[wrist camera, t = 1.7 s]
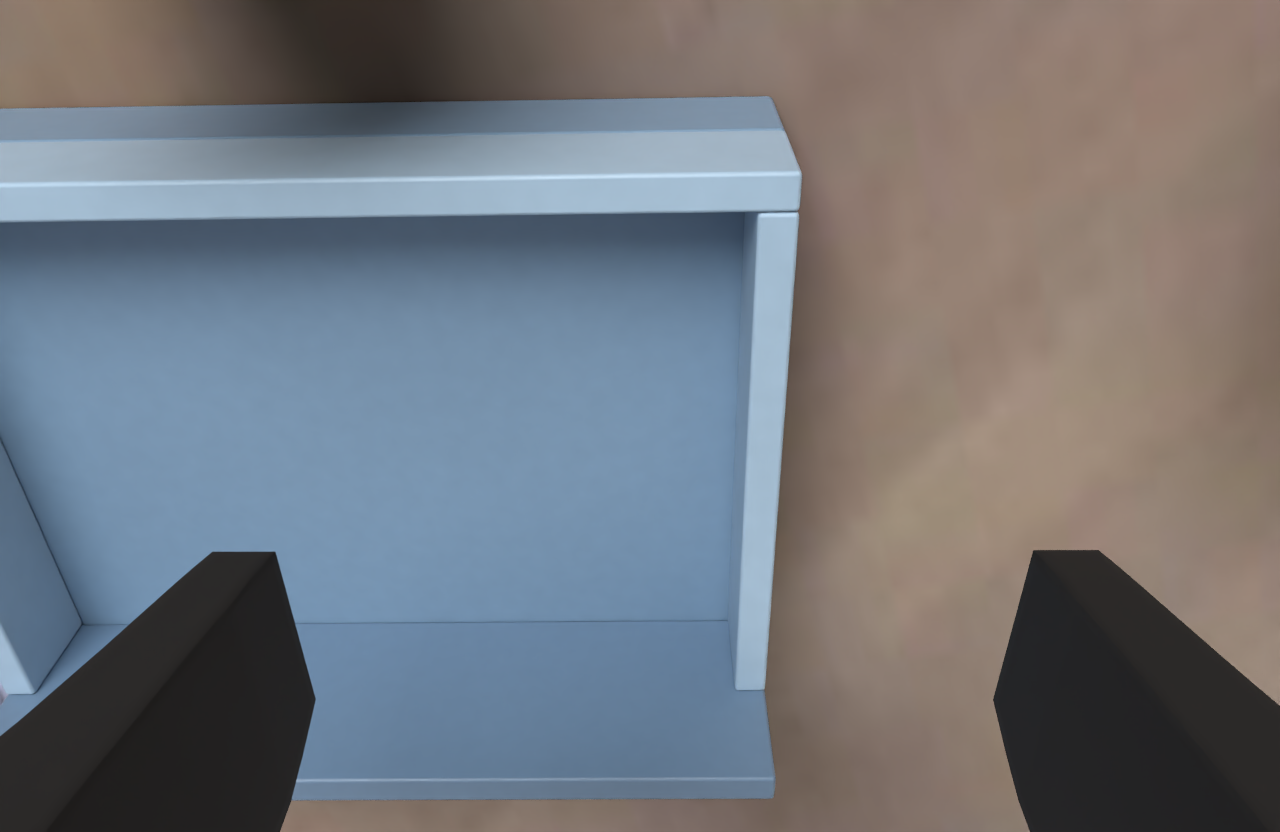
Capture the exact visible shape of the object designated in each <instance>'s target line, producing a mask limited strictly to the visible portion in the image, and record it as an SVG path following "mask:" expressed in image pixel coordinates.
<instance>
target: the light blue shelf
mask: <svg viewBox="0 0 1280 832" xmlns="http://www.w3.org/2000/svg"><path fill="white" fill-rule="evenodd" d="M801 186H802V173H801V170H800V168H799V165H798V162H797V160H796V157H795V155H794V152H793V150H792V147H791V144H790V142H789V139H788V137H787V134H786V132H785V131H784V128H783V125H782V123H781V120H780V117H779V115H778V112H777V110H776V107H775V105H774V102H773V99H772V98H771V97H768V96H760V97H698V98H637V99H575V100H513V101H451V102H389V103H327V104H265V105H203V106H141V107H80V108H18V109H0V683H1V685H2V687H3V689H4V691H5V693H7V694H8V696H7V697H6V699H5V700H4V701H3V703H2V704H1V706H0V736H1V735H2V734H3V733H5V732H6V731H7V730H8V729H9V728H11V727H12V726H13V725H14V724H16V723H17V722H18V721H19V720H20V719H22V718H23V717H24V716H25V715H26V714H28V713H29V712H30V711H31V710H32V709H33V708H34V707H36V706H37V705H38V704H39V703H40V702H41V701H43V700H44V699H45V698H46V697H47V696H48V695H49V694H51V693H52V692H53V691H54V690H55V689H56V688H57V687H59V686H60V685H61V684H62V683H63V682H64V681H65V680H67V679H68V678H69V677H70V676H71V675H72V674H74V673H75V672H76V671H77V670H78V669H79V668H80V667H82V666H83V665H84V664H85V663H86V662H87V661H88V660H90V659H91V658H92V657H93V656H94V655H95V654H96V653H98V652H99V651H100V650H101V649H102V648H103V647H104V646H106V645H107V644H108V643H109V642H110V641H111V640H112V639H113V638H115V637H116V636H117V635H118V634H119V633H120V632H121V631H122V630H124V629H125V628H126V627H127V626H128V625H129V624H130V623H131V622H132V621H134V620H135V619H136V618H137V617H138V616H139V615H140V614H141V613H143V612H144V611H145V610H146V609H147V608H148V607H149V606H150V605H151V604H153V603H154V602H155V601H156V600H157V599H158V598H159V597H160V596H162V595H163V594H164V593H165V592H166V591H167V590H168V589H169V588H171V587H172V586H173V585H174V584H175V583H176V582H177V581H178V580H180V579H181V578H182V577H183V576H184V575H185V574H186V573H188V572H189V571H190V570H191V569H192V568H193V567H195V566H196V565H197V564H198V563H199V562H201V561H202V560H203V559H204V558H205V557H207V556H208V555H209V554H210V553H211V552H276V555H277V559H278V563H279V566H280V570H281V574H282V577H283V581H284V585H285V588H286V592H287V596H288V599H289V603H290V607H291V610H292V614H293V618H294V621H295V625H296V629H297V632H298V636H299V640H300V643H301V647H302V651H303V654H304V658H305V662H306V665H307V669H308V673H309V676H310V680H311V684H312V687H313V691H314V695H315V698H316V701H315V705H314V709H313V714H312V718H311V723H310V727H309V731H308V736H307V740H306V744H305V749H304V753H303V757H302V761H301V765H300V768H299V772H298V776H297V780H296V784H295V788H294V792H293V796H292V799H291V800H541V799H771V798H773V796H774V792H775V780H776V777H775V769H774V761H773V753H772V745H771V737H770V729H769V721H768V713H767V705H766V698H765V690H764V688H765V681H766V668H767V654H768V640H769V626H770V613H771V599H772V585H773V571H774V558H775V544H776V530H777V516H778V503H779V489H780V475H781V461H782V448H783V434H784V420H785V406H786V393H787V379H788V365H789V351H790V338H791V324H792V310H793V296H794V283H795V269H796V255H797V241H798V227H799V214H798V211H797V210H798V209H799V207H800V200H801Z"/></svg>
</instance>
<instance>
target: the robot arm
mask: <svg viewBox="0 0 1280 832" xmlns="http://www.w3.org/2000/svg"><path fill="white" fill-rule="evenodd" d="M7 696H8V694H7V693H5V691H4V689H3V687H2V685H1V683H0V706H1V704H2V703H3V701H4V700H5V699H6V697H7ZM315 701H316V698H315V695H314V691H313V687H312V684H311V680H310V676H309V673H308V669H307V665H306V662H305V658H304V654H303V651H302V647H301V643H300V640H299V636H298V632H297V629H296V625H295V621H294V618H293V614H292V610H291V607H290V603H289V599H288V596H287V592H286V588H285V585H284V581H283V577H282V574H281V570H280V566H279V563H278V559H277V555H276V552H211V553H210V554H209V555H208V556H207V557H205V558H204V559H203V560H202V561H201V562H199V563H198V564H197V565H196V566H195V567H193V568H192V569H191V570H190V571H189V572H188V573H186V574H185V575H184V576H183V577H182V578H181V579H180V580H178V581H177V582H176V583H175V584H174V585H173V586H172V587H171V588H169V589H168V590H167V591H166V592H165V593H164V594H163V595H162V596H160V597H159V598H158V599H157V600H156V601H155V602H154V603H153V604H151V605H150V606H149V607H148V608H147V609H146V610H145V611H144V612H143V613H141V614H140V615H139V616H138V617H137V618H136V619H135V620H134V621H132V622H131V623H130V624H129V625H128V626H127V627H126V628H125V629H124V630H122V631H121V632H120V633H119V634H118V635H117V636H116V637H115V638H113V639H112V640H111V641H110V642H109V643H108V644H107V645H106V646H104V647H103V648H102V649H101V650H100V651H99V652H98V653H96V654H95V655H94V656H93V657H92V658H91V659H90V660H88V661H87V662H86V663H85V664H84V665H83V666H82V667H80V668H79V669H78V670H77V671H76V672H75V673H74V674H72V675H71V676H70V677H69V678H68V679H67V680H65V681H64V682H63V683H62V684H61V685H60V686H59V687H57V688H56V689H55V690H54V691H53V692H52V693H51V694H49V695H48V696H47V697H46V698H45V699H44V700H43V701H41V702H40V703H39V704H38V705H37V706H36V707H34V708H33V709H32V710H31V711H30V712H29V713H28V714H26V715H25V716H24V717H23V718H22V719H20V720H19V721H18V722H17V723H16V724H14V725H13V726H12V727H11V728H9V729H8V730H7V731H6V732H5V733H3V734H2V735H1V736H0V832H280V830H281V827H282V824H283V822H284V819H285V816H286V813H287V811H288V808H289V805H290V802H291V799H292V796H293V792H294V788H295V784H296V780H297V776H298V772H299V768H300V765H301V761H302V757H303V753H304V749H305V744H306V740H307V736H308V731H309V727H310V723H311V718H312V714H313V709H314V705H315ZM993 701H994V705H995V709H996V713H997V717H998V722H999V726H1000V730H1001V734H1002V738H1003V743H1004V747H1005V751H1006V755H1007V759H1008V763H1009V766H1010V770H1011V774H1012V778H1013V781H1014V785H1015V789H1016V793H1017V796H1018V800H1019V803H1020V806H1021V808H1022V811H1023V814H1024V816H1025V819H1026V822H1027V824H1028V827H1029V830H1030V832H1280V706H1279V705H1278V704H1277V703H1276V702H1275V701H1273V700H1272V699H1271V698H1270V697H1269V696H1267V695H1266V694H1265V693H1264V692H1263V691H1261V690H1260V689H1259V688H1258V687H1257V686H1256V685H1254V684H1253V683H1252V682H1251V681H1250V680H1249V679H1247V678H1246V677H1245V676H1244V675H1243V674H1242V673H1240V672H1239V671H1238V670H1237V669H1236V668H1235V667H1233V666H1232V665H1231V664H1230V663H1229V662H1228V661H1226V660H1225V659H1224V658H1223V657H1222V656H1221V655H1219V654H1218V653H1217V652H1216V651H1215V650H1214V649H1213V648H1211V647H1210V646H1209V645H1208V644H1207V643H1206V642H1205V641H1203V640H1202V639H1201V638H1200V637H1199V636H1198V635H1196V634H1195V633H1194V632H1193V631H1192V630H1191V629H1190V628H1188V627H1187V626H1186V625H1185V624H1184V623H1183V622H1182V621H1180V620H1179V619H1178V618H1177V617H1176V616H1175V615H1174V614H1172V613H1171V612H1170V611H1169V610H1168V609H1167V608H1166V607H1164V606H1163V605H1162V604H1161V603H1160V602H1159V601H1158V600H1156V599H1155V598H1154V597H1153V596H1152V595H1151V594H1150V593H1148V592H1147V591H1146V590H1145V589H1144V588H1143V587H1142V586H1140V585H1139V584H1138V583H1137V582H1136V581H1135V580H1133V579H1132V578H1131V577H1130V576H1129V575H1128V574H1126V573H1125V572H1124V571H1123V570H1122V569H1121V568H1119V567H1118V566H1117V565H1116V564H1115V563H1113V562H1112V561H1111V560H1110V559H1109V558H1107V557H1106V556H1105V555H1104V554H1102V553H1101V552H1100V551H1099V550H1033V554H1032V558H1031V561H1030V565H1029V569H1028V572H1027V576H1026V580H1025V584H1024V587H1023V591H1022V595H1021V598H1020V602H1019V606H1018V610H1017V613H1016V617H1015V621H1014V624H1013V628H1012V632H1011V636H1010V639H1009V643H1008V647H1007V650H1006V654H1005V658H1004V662H1003V665H1002V669H1001V673H1000V676H999V680H998V684H997V688H996V691H995V695H994V699H993Z"/></svg>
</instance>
